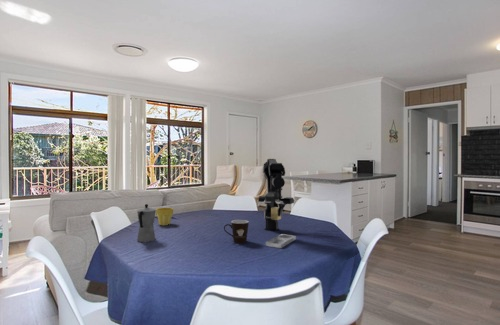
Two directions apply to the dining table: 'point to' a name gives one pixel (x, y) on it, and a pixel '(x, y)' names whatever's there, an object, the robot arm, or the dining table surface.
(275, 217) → the golden block
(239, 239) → the coffee mug
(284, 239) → the rail
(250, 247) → the dining table surface
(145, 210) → the coffeepot
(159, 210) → the plant pot
